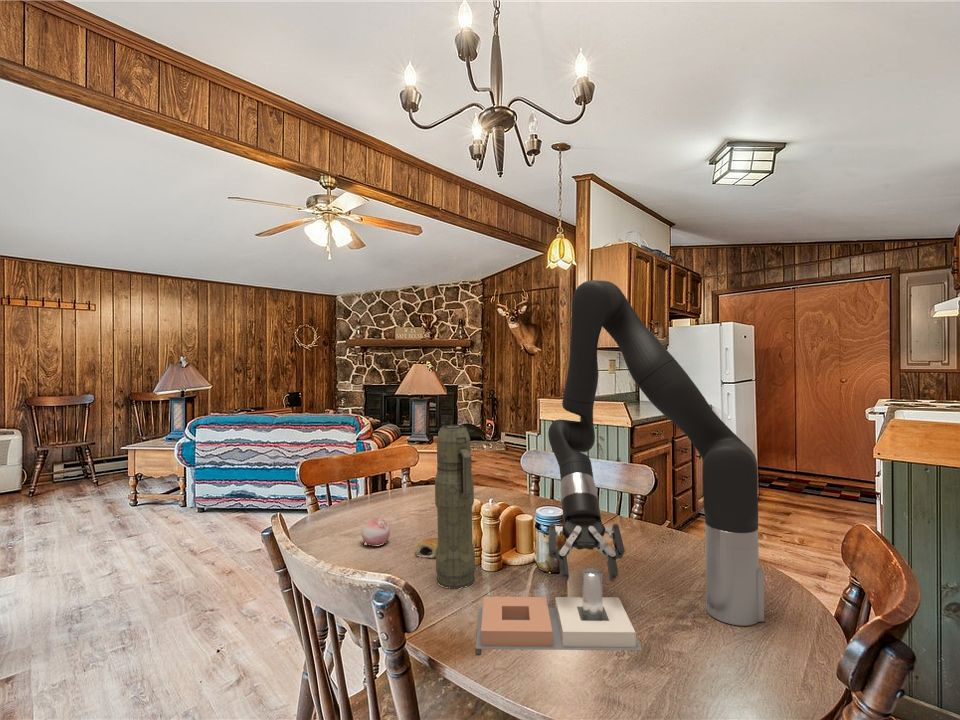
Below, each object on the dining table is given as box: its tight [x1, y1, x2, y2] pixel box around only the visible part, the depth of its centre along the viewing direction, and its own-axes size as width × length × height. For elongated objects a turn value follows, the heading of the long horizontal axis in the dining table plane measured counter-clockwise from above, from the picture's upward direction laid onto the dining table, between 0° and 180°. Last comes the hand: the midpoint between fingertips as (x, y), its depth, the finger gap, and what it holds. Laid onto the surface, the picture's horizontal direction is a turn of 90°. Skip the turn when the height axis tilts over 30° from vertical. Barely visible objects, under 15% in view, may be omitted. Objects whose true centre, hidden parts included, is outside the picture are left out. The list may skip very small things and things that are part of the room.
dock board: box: [475, 596, 643, 655], centre depth 90 cm, size 28×14×4 cm, turn 87°
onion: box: [361, 517, 391, 546], centre depth 135 cm, size 8×8×7 cm
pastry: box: [414, 537, 438, 559], centre depth 129 cm, size 9×7×4 cm
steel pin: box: [581, 567, 604, 621], centre depth 90 cm, size 4×4×10 cm
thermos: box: [434, 424, 476, 589], centre depth 112 cm, size 9×12×35 cm
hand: (589, 579), depth 92 cm, fingers open, 8 cm apart
